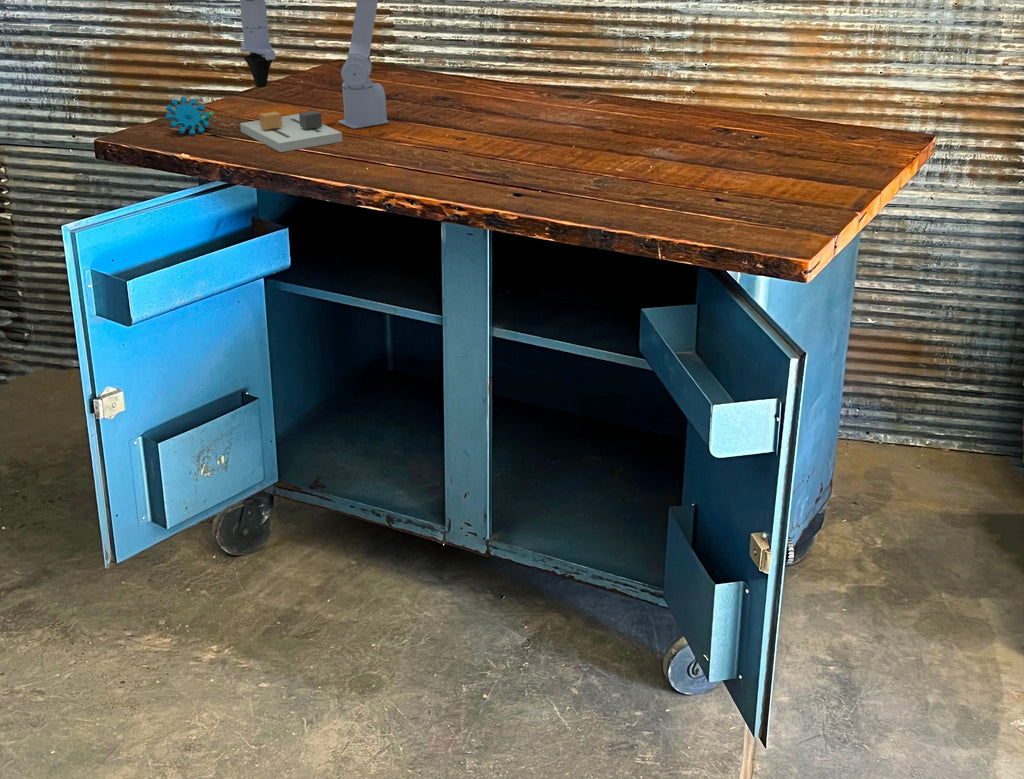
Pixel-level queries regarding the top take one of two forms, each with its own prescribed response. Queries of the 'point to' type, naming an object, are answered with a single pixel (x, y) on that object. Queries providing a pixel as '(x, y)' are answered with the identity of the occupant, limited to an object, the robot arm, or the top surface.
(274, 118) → the tan fader
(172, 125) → the gear
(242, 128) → the fader panel
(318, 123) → the black fader
